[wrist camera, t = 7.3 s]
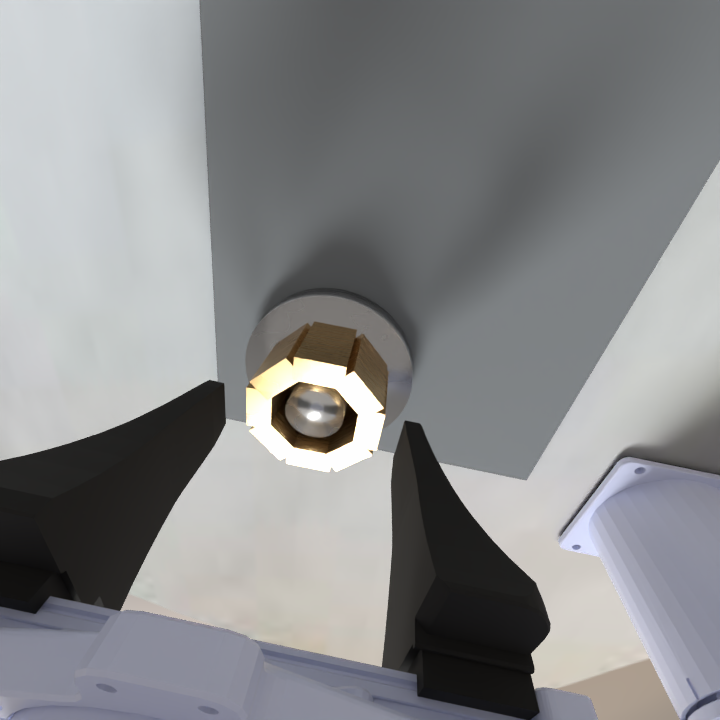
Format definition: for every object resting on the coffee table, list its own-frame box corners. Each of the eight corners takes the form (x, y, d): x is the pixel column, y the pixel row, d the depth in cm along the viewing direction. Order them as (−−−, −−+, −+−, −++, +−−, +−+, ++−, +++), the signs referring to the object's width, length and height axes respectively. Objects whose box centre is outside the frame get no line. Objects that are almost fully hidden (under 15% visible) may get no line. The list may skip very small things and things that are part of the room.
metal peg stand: (431, 307, 16) (438, 349, 12) (392, 439, 20) (390, 498, 16) (255, 272, 16) (213, 303, 12) (253, 410, 20) (221, 463, 16)
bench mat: (799, 9, 10) (813, 4, 10) (524, 474, 20) (526, 480, 20) (201, -103, 10) (194, -113, 10) (222, 412, 20) (219, 417, 20)
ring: (396, 337, 15) (394, 376, 12) (374, 430, 18) (369, 480, 15) (274, 313, 15) (246, 347, 12) (271, 410, 18) (246, 455, 15)
